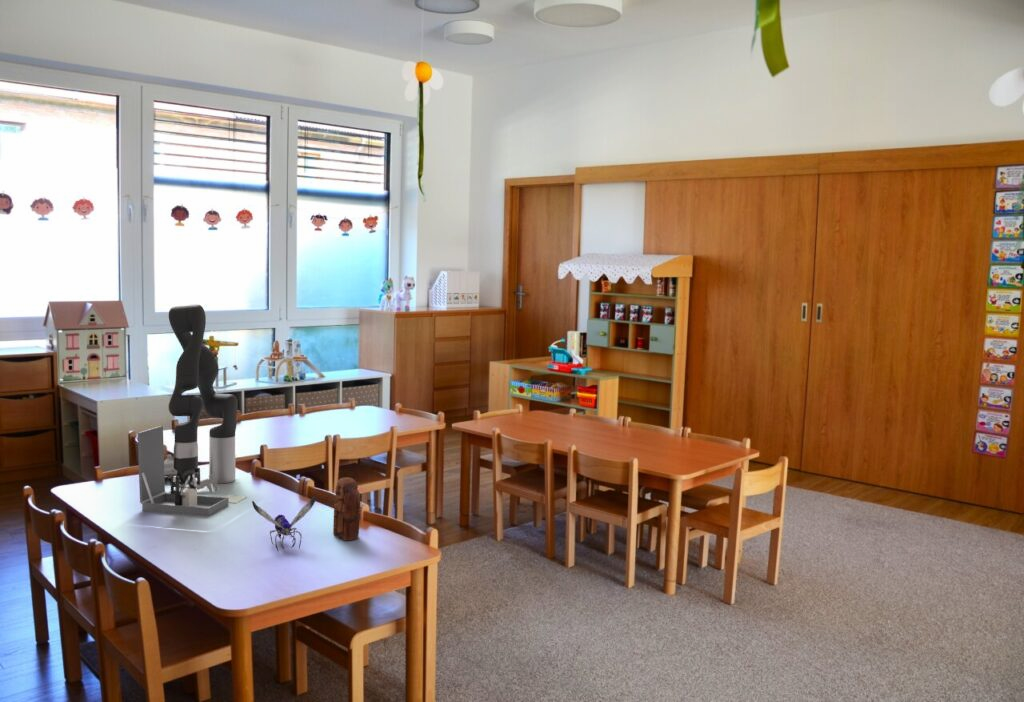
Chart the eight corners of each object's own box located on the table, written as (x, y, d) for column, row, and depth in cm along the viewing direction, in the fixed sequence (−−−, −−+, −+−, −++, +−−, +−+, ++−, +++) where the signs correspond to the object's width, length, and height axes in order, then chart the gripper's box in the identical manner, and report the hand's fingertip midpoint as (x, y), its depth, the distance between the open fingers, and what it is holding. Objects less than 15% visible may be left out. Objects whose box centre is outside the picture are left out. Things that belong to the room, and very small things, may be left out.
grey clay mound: (159, 482, 314) (162, 454, 316) (189, 484, 314) (192, 456, 316) (144, 481, 302) (148, 452, 304) (175, 482, 302) (179, 453, 304)
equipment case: (160, 500, 281) (160, 425, 278) (228, 506, 277) (228, 430, 275) (137, 511, 268) (137, 432, 265) (208, 517, 264) (208, 437, 262)
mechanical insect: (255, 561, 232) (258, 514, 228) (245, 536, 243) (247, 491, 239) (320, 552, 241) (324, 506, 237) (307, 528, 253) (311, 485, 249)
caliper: (216, 490, 297) (216, 473, 296) (217, 491, 296) (217, 474, 296) (156, 498, 284) (156, 480, 283) (157, 499, 283) (157, 481, 282)
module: (183, 505, 275) (183, 487, 275) (197, 506, 275) (197, 488, 274) (174, 509, 270) (174, 491, 270) (189, 510, 269) (189, 492, 269)
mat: (225, 496, 289) (225, 494, 289) (247, 498, 288) (247, 496, 288) (214, 502, 281) (214, 500, 281) (236, 504, 280) (236, 502, 280)
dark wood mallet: (327, 532, 254) (328, 475, 253) (346, 528, 258) (347, 473, 257) (344, 542, 245) (345, 484, 243) (363, 539, 249) (365, 481, 247)
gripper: (186, 449, 278) (186, 496, 280) (163, 458, 264) (163, 507, 266) (207, 451, 277) (207, 497, 279) (184, 459, 263) (184, 509, 264)
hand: (185, 502), depth 272 cm, fingers open, 8 cm apart
